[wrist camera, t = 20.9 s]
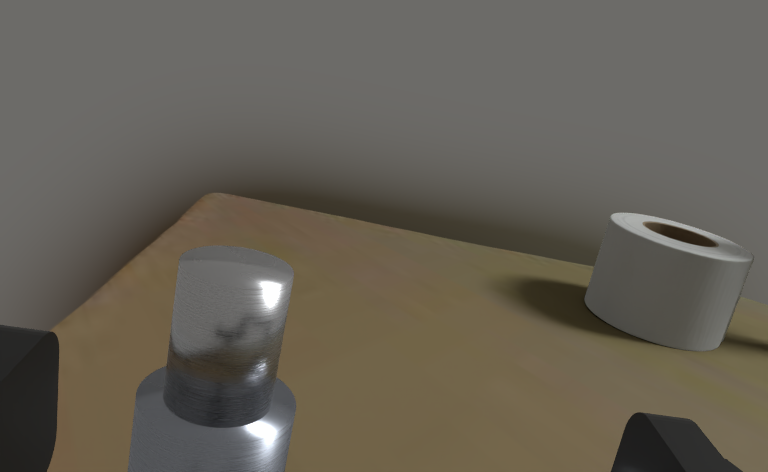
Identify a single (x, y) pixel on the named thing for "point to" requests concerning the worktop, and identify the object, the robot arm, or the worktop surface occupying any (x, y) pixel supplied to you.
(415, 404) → the worktop surface
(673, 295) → the white toilet paper roll
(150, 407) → the metal spray bottle
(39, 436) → the robot arm
